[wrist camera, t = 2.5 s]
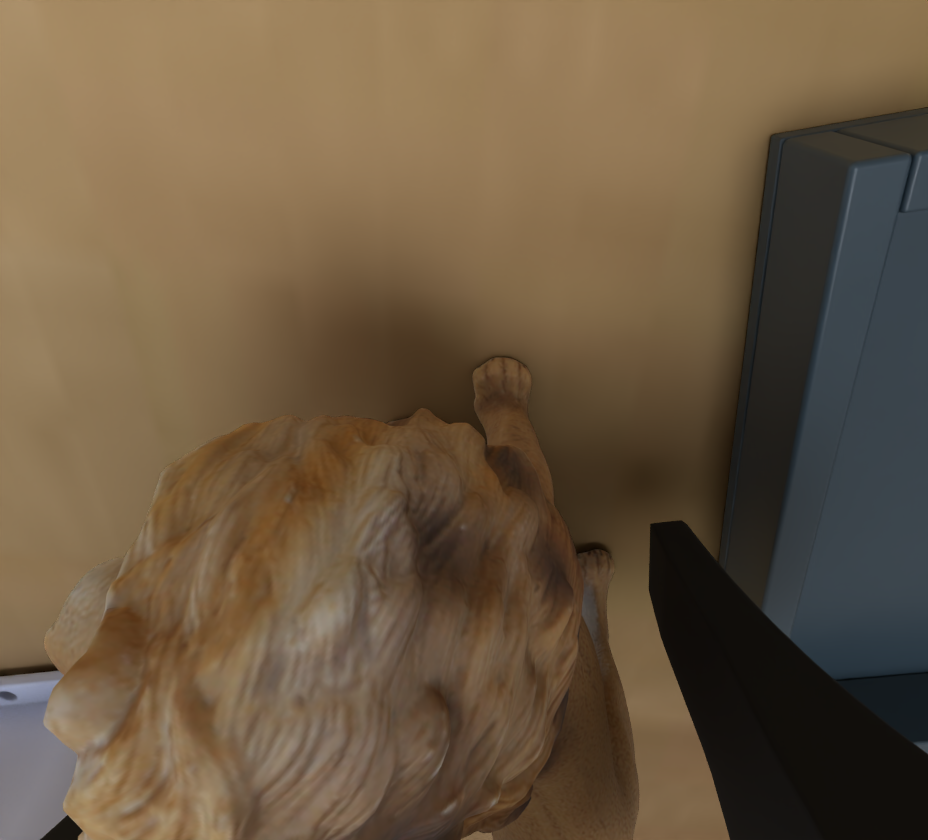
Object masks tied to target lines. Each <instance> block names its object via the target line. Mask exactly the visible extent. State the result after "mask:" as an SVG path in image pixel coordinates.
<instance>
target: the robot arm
mask: <svg viewBox="0 0 928 840" xmlns="http://www.w3.org/2000/svg"><path fill="white" fill-rule="evenodd" d="M649 592H650V596H651V600H652V604H653V608H654V612H655V616H656V620H657V624H658V627H659V631H660V635H661V639H662V641H663V644H664V647H665V649H666V652H667V655H668V657H669V660H670V663H671V665H672V668H673V671H674V673H675V676H676V679H677V681H678V684H679V687H680V689H681V692H682V695H683V697H684V700H685V702H686V705H687V708H688V710H689V713H690V716H691V718H692V721H693V723H694V726H695V729H696V731H697V734H698V737H699V739H700V742H701V744H702V747H703V750H704V753H705V756H706V759H707V762H708V765H709V768H710V770H711V773H712V777H713V780H714V784H715V787H716V791H717V794H718V798H719V801H720V805H721V808H722V812H723V815H724V819H725V822H726V826H727V829H728V833H729V837H730V840H928V754H927V753H926V752H925V751H923V750H922V749H921V748H919V747H918V746H917V745H915V744H914V743H913V742H911V741H910V740H909V739H907V738H906V737H905V736H903V735H902V734H901V733H899V732H898V731H897V730H895V729H894V728H893V727H891V726H890V725H889V724H887V723H886V722H885V721H884V720H882V719H881V718H880V717H879V716H878V715H876V714H875V713H874V712H873V711H871V710H870V709H869V708H868V707H866V706H865V705H864V704H863V703H862V702H860V701H859V700H858V699H857V698H855V697H854V696H853V695H852V694H851V693H850V692H848V691H847V690H846V689H845V688H844V687H843V686H841V685H840V684H839V683H838V682H837V681H836V680H834V679H833V678H832V677H831V676H830V675H829V674H827V673H826V672H825V671H824V670H823V669H822V668H821V667H820V666H818V665H817V664H816V663H815V662H814V661H813V660H812V659H811V658H810V657H809V656H808V655H806V654H805V653H804V652H803V651H802V650H801V649H800V648H799V647H798V646H797V645H796V644H795V643H794V642H793V641H792V640H791V639H790V638H789V637H788V636H787V635H786V634H784V633H783V632H782V631H781V630H780V629H779V628H778V627H777V626H776V625H775V624H774V623H773V622H772V621H771V620H770V619H769V618H768V617H767V616H766V615H765V614H764V613H763V611H762V610H761V609H760V608H759V607H758V606H757V605H756V604H755V603H754V602H753V601H752V600H751V599H750V598H749V597H748V596H747V594H746V593H745V592H744V591H743V590H742V589H741V588H740V587H739V586H738V585H737V584H736V583H735V582H734V580H733V579H732V578H731V577H730V576H729V575H728V574H727V573H726V571H725V570H724V569H723V568H722V567H721V566H720V564H719V563H718V562H717V561H716V560H715V559H714V557H713V556H712V555H711V554H710V553H709V551H708V550H707V549H706V548H705V547H704V545H703V544H702V543H701V542H700V540H699V539H698V538H697V537H696V535H695V534H694V533H693V532H692V530H691V529H690V528H689V526H688V525H687V524H686V523H685V522H683V521H682V520H680V521H671V522H662V523H653V524H650V564H649ZM63 676H64V675H63V674H62V673H61V672H60V671H50V672H40V673H31V674H21V675H11V676H1V677H0V840H78V836H79V835H80V834H81V833H82V832H83V830H82V829H81V828H80V827H79V826H78V825H77V824H76V823H75V822H74V821H73V820H72V819H71V818H70V817H69V816H68V815H67V814H66V813H65V812H64V811H63V802H64V799H65V797H66V794H67V792H68V790H69V787H70V785H71V781H72V778H73V774H74V771H75V767H76V761H77V756H78V755H77V754H76V752H74V751H73V750H71V749H70V748H69V747H67V746H66V745H65V744H63V743H62V742H61V741H60V740H59V739H58V738H57V737H56V736H55V735H54V734H53V733H52V732H50V731H49V730H48V729H47V728H46V727H45V726H44V723H43V720H44V716H45V712H46V708H47V705H48V701H49V697H50V695H51V692H52V690H53V688H54V687H55V685H56V684H57V683H58V682H59V681H60V680H61V679H62V677H63Z"/></svg>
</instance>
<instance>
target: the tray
mask: <svg viewBox="0 0 928 840" xmlns="http://www.w3.org/2000/svg"><path fill="white" fill-rule="evenodd" d="M719 564H720V566H721V567H722V568H723V569H724V570H725V571H726V573H727V574H728V575H729V576H730V577H731V578H732V579H733V580H734V582H735V583H736V584H737V585H738V586H739V587H740V588H741V589H742V590H743V591H744V592H745V593H746V594H747V596H748V597H749V598H750V599H751V600H752V601H753V602H754V603H755V604H756V605H757V606H758V607H759V608H760V609H761V610H762V611H763V613H764V614H765V615H766V616H767V617H768V618H769V619H770V620H771V621H772V622H773V623H774V624H775V625H776V626H777V627H778V628H779V629H780V630H781V631H782V632H783V633H784V634H786V635H787V636H788V637H789V638H790V639H791V640H792V641H793V642H794V643H795V644H796V645H797V646H798V647H799V648H800V649H801V650H802V651H803V652H804V653H805V654H806V655H808V656H809V657H810V658H811V659H812V660H813V661H814V662H815V663H816V664H817V665H818V666H820V667H821V668H822V669H823V670H824V671H825V672H826V673H827V674H829V675H830V676H831V677H832V678H833V679H834V680H836V681H837V682H838V683H839V684H840V685H841V686H843V687H844V688H845V689H846V690H847V691H848V692H850V693H851V694H852V695H853V696H854V697H855V698H857V699H858V700H859V701H860V702H862V703H863V704H864V705H865V706H866V707H868V708H869V709H870V710H871V711H873V712H874V713H875V714H876V715H878V716H879V717H880V718H881V719H882V720H884V721H885V722H886V723H887V724H889V725H890V726H891V727H893V728H894V729H895V730H897V731H898V732H899V733H901V734H902V735H903V736H905V737H906V738H907V739H909V740H910V741H911V742H913V743H914V744H915V745H917V746H918V747H919V748H921V749H922V750H923V751H925V752H926V753H927V754H928V108H923V109H917V110H911V111H905V112H900V113H894V114H888V115H882V116H877V117H871V118H865V119H860V120H854V121H848V122H842V123H837V124H831V125H825V126H820V127H814V128H808V129H802V130H797V131H791V132H785V133H779V134H774V135H773V136H772V137H771V143H770V151H769V159H768V167H767V175H766V183H765V191H764V200H763V208H762V216H761V224H760V232H759V240H758V248H757V256H756V264H755V272H754V280H753V288H752V296H751V305H750V313H749V321H748V329H747V337H746V345H745V353H744V361H743V369H742V377H741V385H740V393H739V402H738V410H737V418H736V426H735V434H734V442H733V450H732V458H731V466H730V474H729V482H728V490H727V498H726V507H725V515H724V523H723V531H722V539H721V547H720V555H719Z"/></svg>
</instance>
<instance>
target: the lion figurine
mask: <svg viewBox="0 0 928 840" xmlns="http://www.w3.org/2000/svg"><path fill="white" fill-rule="evenodd" d="M473 385H474V391H475V394H476V398H475V401H474V409H475V413H476V415H477V416H478V418H479V421H480V423H481V424H482V425H483V427H484V430H485V433H486V437H487V445H486V443H485V440H484V438H483V436H482V435H481V434H480V433H479V432H478V431H477V430H476V429H474V428H473V427H472V426H471V425H469V424H468V423H453V424H447V423H445V422H444V421H442V420H440V419H439V418H437V417H435V416H434V414H433V413H432V412H431V411H430V410H429V409H424V408H422V409H418V410H417V411H416V412H415V413H414V414H413V415H412V416H411V417H409V418H406V419H400V420H397V421H390V422H388V423H387V424H385V423H383V422H381V421H377V420H373V419H367V418H356V417H352V416H339V417H330V416H326V415H321V416H318V417H315V418H313V419H311V420H309V421H303V420H301V419H299V418H297V417H295V416H293V415H284V416H281V417H278V418H276V419H273V420H271V421H267V422H264V423H249V424H244V425H242V426H241V427H239V428H238V429H236V430H235V431H233V432H231V433H230V434H227V435H223V436H219V437H215V438H213V439H211V440H210V441H208V442H206V443H204V444H202V445H200V446H198V447H197V448H195V449H194V450H192V451H191V452H189V453H188V454H186V455H184V456H183V457H181V458H180V459H178V460H177V461H175V462H173V463H171V464H169V465H168V466H166V468H165V469H164V470H163V471H162V472H161V474H160V477H159V481H158V484H157V487H156V490H155V493H154V497H153V500H152V502H151V505H150V508H149V511H148V514H147V517H146V519H145V522H144V524H143V527H142V529H141V532H140V534H139V537H138V538H137V539H136V541H135V542H134V543H133V545H132V546H131V547H130V549H129V550H128V551H127V553H126V556H125V557H117V558H114V559H111V560H108V561H106V562H103V563H101V564H98V565H97V566H96V567H94V568H93V569H91V570H90V571H89V572H87V573H86V574H85V575H84V576H83V577H82V578H81V579H80V581H79V582H78V583H77V585H76V586H75V587H74V589H73V590H72V592H71V593H70V594H69V596H68V598H67V599H66V601H65V603H64V605H63V608H62V610H61V612H60V614H59V617H58V619H57V621H56V622H55V623H54V624H53V625H52V626H51V627H50V628H49V629H48V630H47V633H46V636H45V639H44V644H45V651H46V653H47V655H48V657H49V659H50V660H51V662H52V663H53V664H54V665H55V666H56V668H57V669H58V670H59V671H60V672H61V673H62V674H63V675H64V676H63V677H62V679H61V680H60V681H59V682H58V683H57V684H56V685H55V687H54V688H53V690H52V692H51V695H50V697H49V701H48V705H47V708H46V712H45V716H44V720H43V723H44V726H45V727H46V728H47V729H48V730H49V731H50V732H52V733H53V734H54V735H55V736H56V737H57V738H58V739H59V740H60V741H61V742H62V743H63V744H65V745H66V746H67V747H69V748H70V749H71V750H73V751H74V752H76V754H77V755H78V756H77V761H76V767H75V771H74V774H73V778H72V781H71V785H70V787H69V790H68V792H67V794H66V797H65V799H64V802H63V811H64V812H65V813H66V814H67V815H68V816H69V817H70V818H71V819H72V820H73V821H74V822H75V823H76V824H77V825H78V826H79V827H80V828H81V829H82V830H83V832H82V833H81V834H80V835H79V836H78V840H460V839H462V838H464V837H466V836H469V835H471V834H472V833H474V832H476V831H479V832H482V833H491V832H492V836H493V840H633V833H634V828H635V824H636V820H637V815H638V810H639V784H638V775H637V769H636V764H635V754H634V742H633V735H632V729H631V723H630V717H629V712H628V708H627V704H626V699H625V695H624V691H623V687H622V683H621V680H620V677H619V674H618V671H617V668H616V666H615V663H614V660H613V657H612V654H611V650H610V647H609V643H608V639H609V634H608V624H607V606H606V602H607V592H608V587H609V583H610V581H611V578H612V576H613V574H614V572H615V566H614V561H613V558H612V556H611V555H610V554H609V553H607V552H605V551H603V550H600V549H595V550H592V551H588V552H583V553H579V554H576V550H575V547H574V544H573V541H572V538H571V535H570V532H569V529H568V527H567V525H566V523H565V521H564V520H563V518H562V516H561V515H560V513H559V512H558V510H557V509H556V508H555V507H554V491H553V484H552V478H551V474H550V470H549V468H548V465H547V462H546V460H545V457H544V455H543V453H542V451H541V449H540V445H539V442H538V438H537V436H536V433H535V431H534V429H533V426H532V425H531V423H530V421H529V418H528V400H529V396H530V392H531V387H532V377H531V374H530V372H529V370H528V368H527V366H525V365H523V364H521V363H520V362H518V361H516V360H514V359H512V358H505V357H494V358H492V359H490V360H488V361H487V362H486V363H485V364H483V365H481V366H479V367H478V368H477V369H475V370H474V373H473Z"/></svg>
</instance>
